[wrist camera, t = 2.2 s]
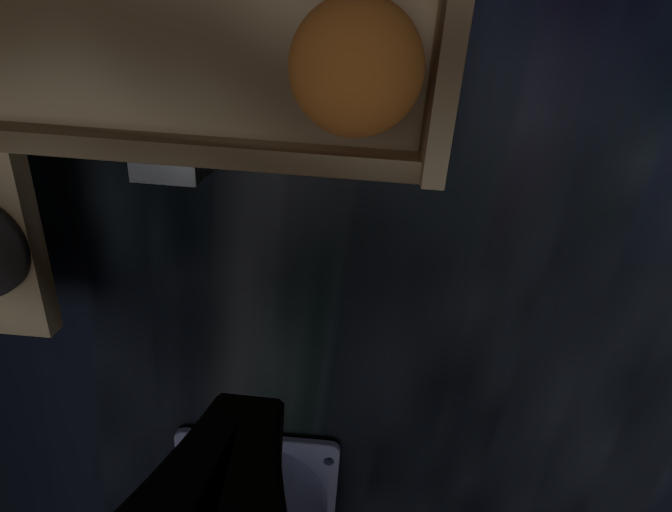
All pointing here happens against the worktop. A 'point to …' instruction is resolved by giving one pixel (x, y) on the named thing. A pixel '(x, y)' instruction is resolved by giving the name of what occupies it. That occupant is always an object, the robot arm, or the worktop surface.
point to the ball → (356, 66)
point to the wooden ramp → (187, 108)
